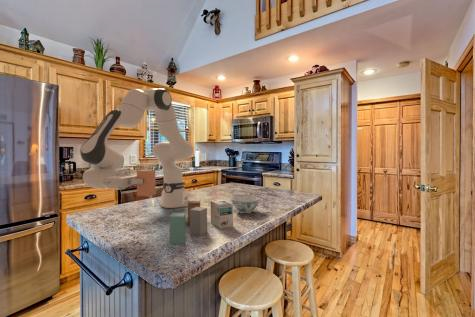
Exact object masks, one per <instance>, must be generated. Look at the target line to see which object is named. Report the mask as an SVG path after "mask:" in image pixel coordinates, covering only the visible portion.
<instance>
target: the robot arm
mask: <svg viewBox="0 0 475 317" xmlns="http://www.w3.org/2000/svg"><path fill="white" fill-rule="evenodd" d="M172 103H173V99H172V95H171V93H170V92H169V91H168V90H167V89H165V88H161V87H160V88H148V89H139V88H131V89H130V90H128V92H126V94H125V95H124V96H123V98H122V101H121V102H120V104H119V106H118V107H117V109H112V110H110V111H109V112H108V113H107V114H105V116H104V118H103V119H102V121H100V123H99V124H98V126H97V127H96V128H95V130H94V131H93V133H92V134H91V135H90V136H89V138H87V140H85V142H84V143H82V145H81V147H80V151H79V152H80V156H81V159H82V160H83V161H84V162H85V163H88V164H90V165H92V167H90V168H88V169H86V170H84V172H83V173H82V181H83V182H84V184H85V185H87V187H89V188H93V189H99V190H100V189H101V190H105V189H108V190H116V191H117V190H118V191H119V190H122V191H123V190H125V189H126V188H128V187H130V186H135V185H137V184H142V183H144V179H137V171H138V170H136V169H126V168H123V166H124V163H125V158H124V155H123V154H122V153H121V152H119V151H118V150H116V149H115V148H113V147H111V146H110V145H108V143H107V140H109V137H110V136H111V134H112V133H113V131H114V130H115V128H116V127H118V126H120V127H123V128H134V127H137V126H138V125H140V123H141V121H142V119H143V117H144V115H145V112H146V111H153V112H155V114H154V115H155V120H156V124H157V128H158V133H159V134H160V135H161V137H163V138H165V139H166V140H167V141H161V142H156V143H155V144H154V145H153V147H152V154H153V157H155V158H156V159H157V160H158V162H159V163H160V165H161V168H162V172H163V183H162V189H163V190H162V191H161V196H160V197H161V198H160V202H159V205H160V206H161V207H162V208H166V209H167V208H168V209H170V208H171V209H172V208H173V209H174V208H184V207H188V202H189V201H194V199H191V198H190V193H189V191H188V190H187V189H186V188H185V186H186V183H187V182H186V181H183V168H182V167H180V166H178V165H177V164H176V162H175V161H178V160H179V161H181V160H183V161H184V160H188V159H191V157H192V156H193V154H194V146H193V145H192V144H191V142H188V141H187V140H186V139H185V138H184V137H183V135H182V133H181V132H180V129H179V126H178V120H177V117H176V111H175V109H174V106H173V104H172Z"/></svg>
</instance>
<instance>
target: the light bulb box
mask: <svg viewBox="0 0 475 317" xmlns="http://www.w3.org/2000/svg"><path fill="white" fill-rule="evenodd" d="M210 224H212V225H214V226H216V228H218V229H219V230H221V229H227V228H228V229H229V228H233V227H234V205H233V202H231V201H228V200H226V199H223V198H220V199H211V200H210Z"/></svg>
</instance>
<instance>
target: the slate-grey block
mask: <svg viewBox="0 0 475 317" xmlns="http://www.w3.org/2000/svg"><path fill="white" fill-rule="evenodd" d="M207 232H208V208H207V207H202V206H200V207H195V208H192V209H190V225H189V233H190V235H196V236H199V237H200V236H203V235H205V234H206V233H207Z"/></svg>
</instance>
